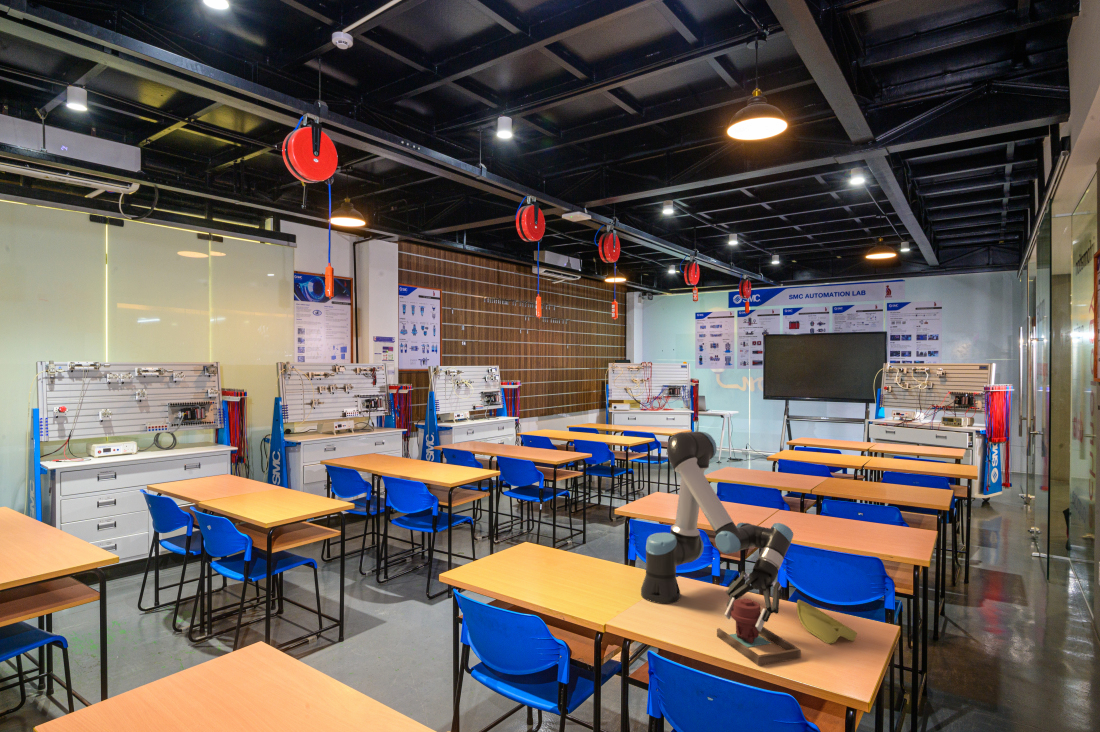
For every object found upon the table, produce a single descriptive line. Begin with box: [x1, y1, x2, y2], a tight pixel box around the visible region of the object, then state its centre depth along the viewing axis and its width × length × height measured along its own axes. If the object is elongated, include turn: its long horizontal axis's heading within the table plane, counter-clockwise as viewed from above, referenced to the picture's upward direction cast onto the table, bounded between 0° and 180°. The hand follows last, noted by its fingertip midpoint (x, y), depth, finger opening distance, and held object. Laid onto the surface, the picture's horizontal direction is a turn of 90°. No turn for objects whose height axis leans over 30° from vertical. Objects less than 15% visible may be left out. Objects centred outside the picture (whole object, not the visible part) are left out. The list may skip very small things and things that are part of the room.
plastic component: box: [796, 599, 858, 645], centre depth 189 cm, size 20×7×10 cm
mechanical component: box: [731, 597, 762, 643], centre depth 182 cm, size 12×10×10 cm
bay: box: [716, 626, 802, 667], centre depth 177 cm, size 20×16×2 cm
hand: (742, 622), depth 180 cm, fingers open, 10 cm apart
